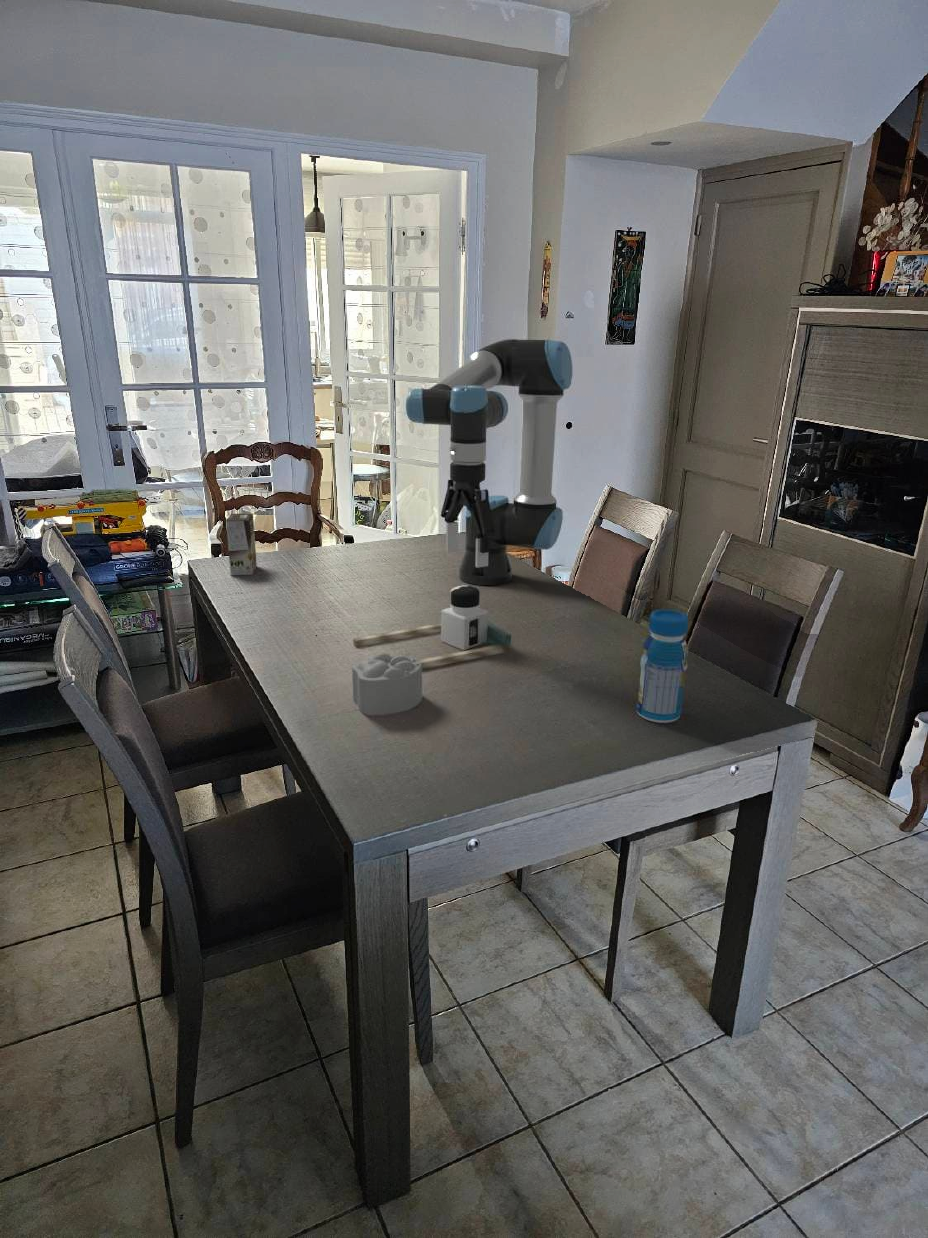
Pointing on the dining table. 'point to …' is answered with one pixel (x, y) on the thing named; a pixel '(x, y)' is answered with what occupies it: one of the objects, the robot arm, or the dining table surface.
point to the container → (464, 619)
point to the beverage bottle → (663, 667)
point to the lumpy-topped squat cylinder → (387, 684)
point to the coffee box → (241, 544)
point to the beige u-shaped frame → (494, 637)
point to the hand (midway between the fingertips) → (466, 558)
